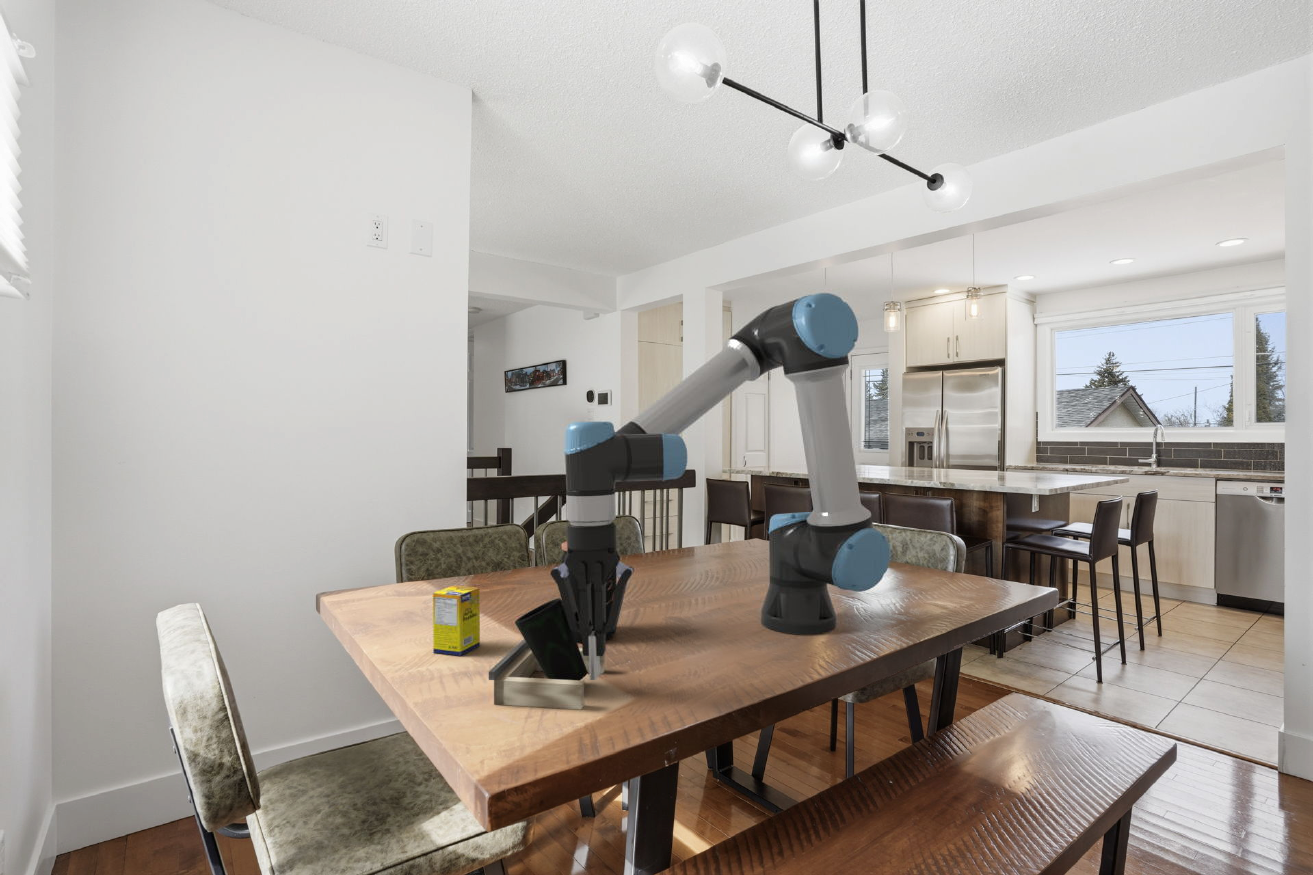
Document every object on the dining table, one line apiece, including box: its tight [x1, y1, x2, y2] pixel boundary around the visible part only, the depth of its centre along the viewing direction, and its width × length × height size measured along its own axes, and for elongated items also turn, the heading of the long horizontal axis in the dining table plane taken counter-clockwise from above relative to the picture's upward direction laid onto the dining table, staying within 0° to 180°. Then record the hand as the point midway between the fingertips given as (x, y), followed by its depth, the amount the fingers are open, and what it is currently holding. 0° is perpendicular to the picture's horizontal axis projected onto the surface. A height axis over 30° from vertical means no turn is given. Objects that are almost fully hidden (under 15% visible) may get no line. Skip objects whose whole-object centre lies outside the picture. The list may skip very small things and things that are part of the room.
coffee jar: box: [560, 541, 618, 644], centre depth 122 cm, size 11×11×18 cm
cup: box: [514, 597, 589, 681], centre depth 96 cm, size 8×8×12 cm
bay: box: [488, 638, 606, 710], centre depth 97 cm, size 14×15×5 cm
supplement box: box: [432, 585, 481, 657], centre depth 114 cm, size 6×6×11 cm
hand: (594, 676), depth 95 cm, fingers closed
